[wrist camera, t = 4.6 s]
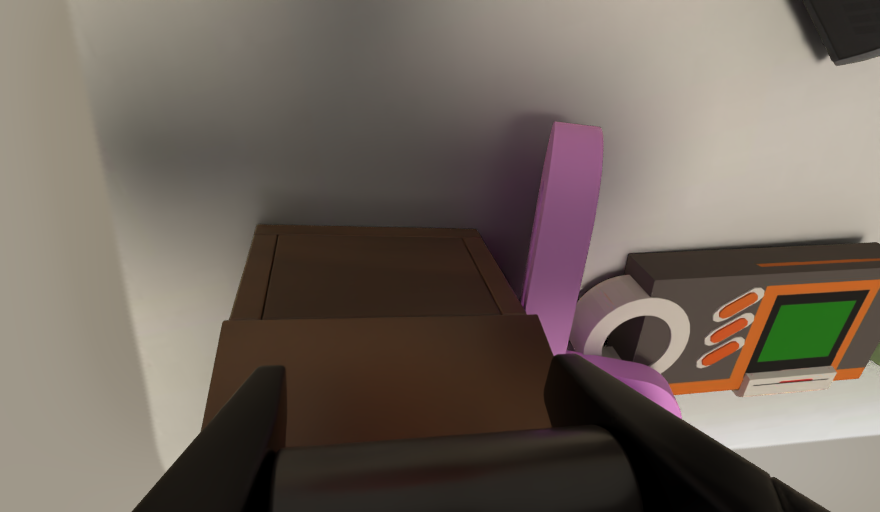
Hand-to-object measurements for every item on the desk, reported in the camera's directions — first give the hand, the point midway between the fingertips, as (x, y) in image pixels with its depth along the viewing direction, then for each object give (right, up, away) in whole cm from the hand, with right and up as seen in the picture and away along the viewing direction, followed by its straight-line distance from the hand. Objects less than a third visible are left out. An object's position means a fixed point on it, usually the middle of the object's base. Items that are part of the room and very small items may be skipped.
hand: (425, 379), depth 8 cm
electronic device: (+13, 0, +16) cm, 20 cm away
